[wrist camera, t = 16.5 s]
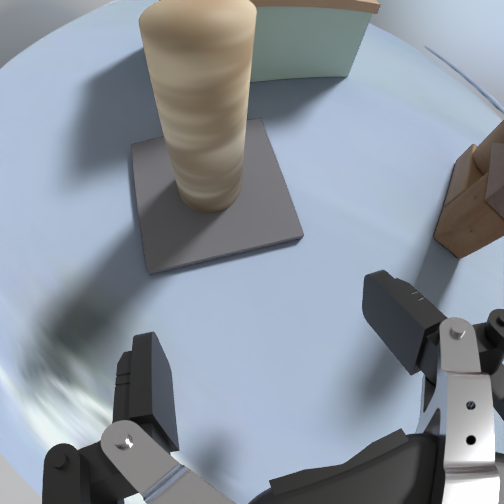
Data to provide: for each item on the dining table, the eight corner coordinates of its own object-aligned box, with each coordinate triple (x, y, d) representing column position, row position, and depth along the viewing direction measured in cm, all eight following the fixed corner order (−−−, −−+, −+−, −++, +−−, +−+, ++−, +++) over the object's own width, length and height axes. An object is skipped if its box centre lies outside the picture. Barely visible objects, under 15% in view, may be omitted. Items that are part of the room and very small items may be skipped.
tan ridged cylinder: (184, 219, 21) (139, 49, 8) (174, 166, 23) (138, 1, 9) (248, 205, 22) (272, 30, 9) (232, 154, 23) (240, -13, 10)
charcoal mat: (149, 274, 21) (147, 272, 20) (133, 148, 24) (131, 144, 23) (302, 238, 22) (304, 235, 22) (259, 122, 25) (260, 117, 25)
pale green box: (174, 99, 26) (157, -20, 14) (163, 34, 29) (153, -54, 17) (352, 80, 28) (390, -15, 16) (307, 21, 32) (325, -57, 20)
